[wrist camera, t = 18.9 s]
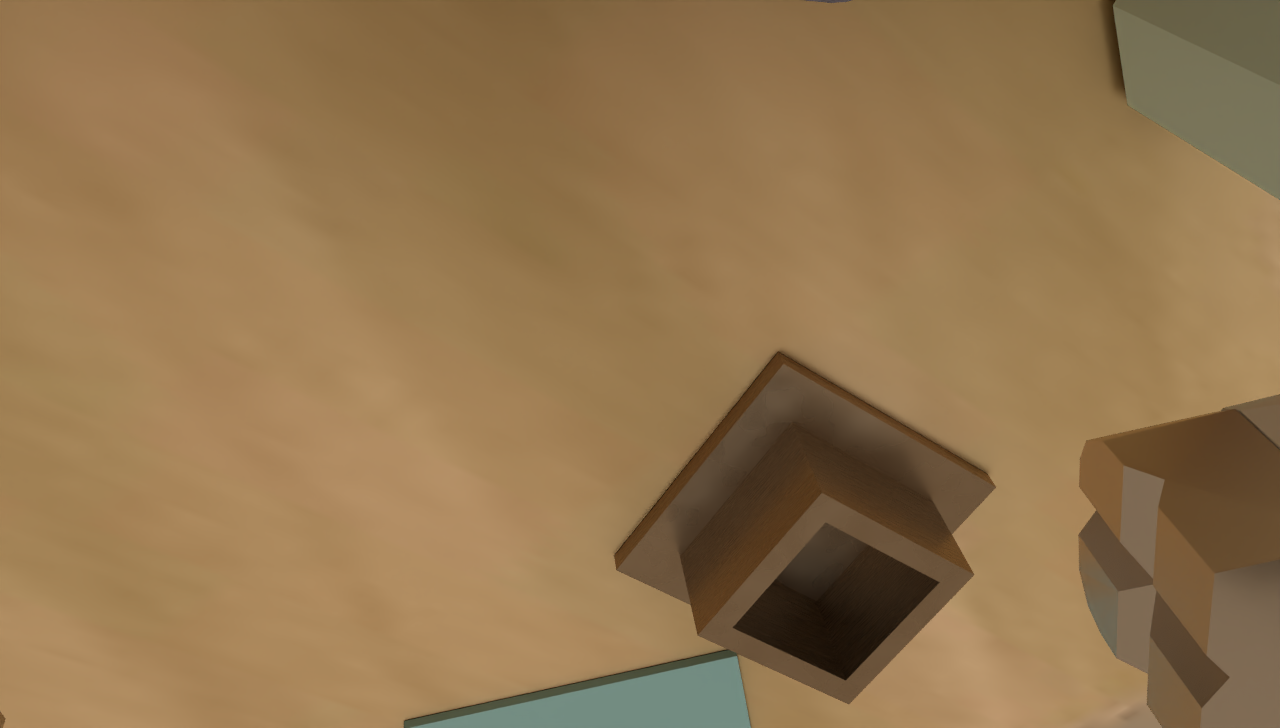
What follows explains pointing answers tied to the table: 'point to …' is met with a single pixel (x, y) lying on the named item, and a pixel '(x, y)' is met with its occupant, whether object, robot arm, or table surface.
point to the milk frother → (830, 1)
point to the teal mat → (621, 701)
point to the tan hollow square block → (810, 532)
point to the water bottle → (1208, 77)
